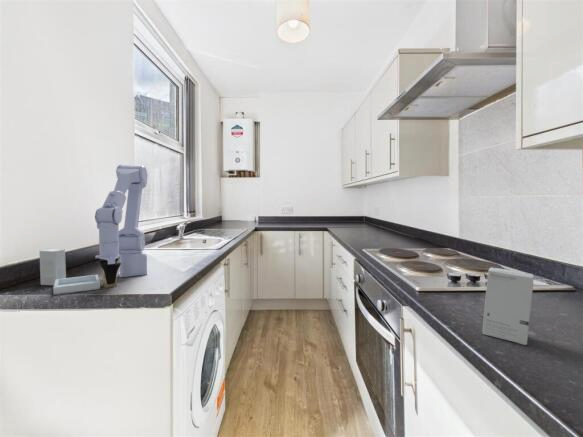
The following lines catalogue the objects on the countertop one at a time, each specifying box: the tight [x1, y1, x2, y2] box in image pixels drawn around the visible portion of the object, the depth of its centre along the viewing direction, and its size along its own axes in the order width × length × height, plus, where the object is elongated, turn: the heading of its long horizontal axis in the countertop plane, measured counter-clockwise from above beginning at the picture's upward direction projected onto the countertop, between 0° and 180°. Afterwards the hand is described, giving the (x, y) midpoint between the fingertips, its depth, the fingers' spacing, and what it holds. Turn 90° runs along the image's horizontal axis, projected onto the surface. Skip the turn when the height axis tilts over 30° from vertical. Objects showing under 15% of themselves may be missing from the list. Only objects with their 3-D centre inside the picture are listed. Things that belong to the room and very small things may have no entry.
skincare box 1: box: [39, 248, 67, 286], centre depth 101 cm, size 6×4×12 cm
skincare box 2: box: [482, 267, 535, 346], centre depth 65 cm, size 8×6×15 cm
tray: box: [52, 274, 101, 296], centre depth 97 cm, size 12×12×2 cm
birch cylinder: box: [102, 269, 118, 289], centre depth 99 cm, size 4×4×7 cm
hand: (110, 281), depth 99 cm, fingers open, 7 cm apart
